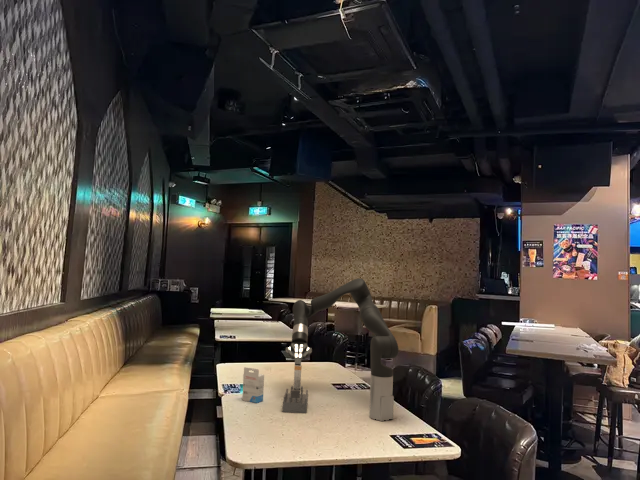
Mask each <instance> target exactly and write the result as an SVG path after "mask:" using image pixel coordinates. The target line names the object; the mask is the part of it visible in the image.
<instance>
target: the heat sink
mask: <svg viewBox="0 0 640 480" xmlns="http://www.w3.org/2000/svg"><path fill="white" fill-rule="evenodd" d="M288 392H289V389H288V388H286V389H285V392H284V395H283V399H282V400H283V401H282V413H291V414H292V413H294V414H307V411H308V403H309V402H308V399H309V390H308V389H306V390H305V394H304V393H303V392H304V386H303V385H301V387H300V390H294V385H291V386H290V393H288Z"/></svg>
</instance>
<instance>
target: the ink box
mask: <svg viewBox="0 0 640 480" xmlns="http://www.w3.org/2000/svg"><path fill="white" fill-rule="evenodd" d="M264 385H265V374H263V373H260V370H259V369H258V368H252V367H243V375H242V394H241V395H242V397H241V400H242V401H244V402H250V403H255V404H258V403H261V402H264V387H265V386H264Z"/></svg>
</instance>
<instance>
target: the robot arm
mask: <svg viewBox="0 0 640 480" xmlns="http://www.w3.org/2000/svg"><path fill="white" fill-rule="evenodd" d="M347 294H350V296H351V297H352V299H353V301H354V302H355V304H356V305H357V306H358V308H359V315H360V319H361V322H362V323H363V325H364V328H366V329H367V330H368V331H369V332H370V333H372V334H374V335H375V336H374V335H373V337H371V340H370V384H369V385H370V386H369V387H370V388H369V413H368V414H369V418H370V419H371V420H375V419H376V420H375V421H379V422H380V421H381V422H384V420H386V421H390V420H389V419H393V420H394V404H395V403H394V402H395V400H394V399H395V397H394V395H393V389H394V388H393V385H394V383H393V382H394V369H393V368H392V367H390V366H388V365H385V364H383V363H382V360H385V359H387V360H388V359H390V360H391V359H395V358H397V356H398V355H399V344H398V341H397V340H396V338H395V336H394V334H393V332H391V330H390V328H389V326H388V325H387V323H386V321H385V320H384V317H383V315H382V313H381V311H380V309H379V307H378V306H377V305H376V304H375V303H374V301H373V298H372V294H371V291H370V289H369V287H368V285H367V283H366V281H365V279H364V278H359V277H358V278H355V279H352V280H351V281H348V282H346V283H345V284H342V285H341V286H339V287H337V288H335V289H333V290H332V291H329V292H328V293H325V294H323V295H320V296H317V297H314V298H312V299H311V300H310V306H309V305H307V303H306V302H305V300H303V299H299V300H296V301H295V302H294V304H293V305H292V316H293V328H292V333H291V344H290V345H289V347H288V346H287V347H285V352H286V354H287V355H288V356H289V358H290V359H291V360H294V366H295V365H301V366H302V360H306V359H307V358H308V357H309V356H310V355H311V354H312V353H313V349H312V347H309V345H308V339H309V338H308V336H309V333H308V332H309V331H308V329H309V321H308V319H309V318H311V317H312V316H314V315H315V314H317V313H318V312H321V311H325V310H326V309H330V308H331V307H332V306H333V305H335V303H336V302H337V301H339V299H340V298H341V297H342V296H344V295H347Z"/></svg>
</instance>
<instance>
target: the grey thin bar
mask: <svg viewBox="0 0 640 480" xmlns="http://www.w3.org/2000/svg"><path fill="white" fill-rule="evenodd" d="M302 366H303V365H302V364H301V365H295V364H294V367H293V369H294V373H293V374H294V375H293V389H294V390H300V391H301V386H302V385H301V383H302Z"/></svg>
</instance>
